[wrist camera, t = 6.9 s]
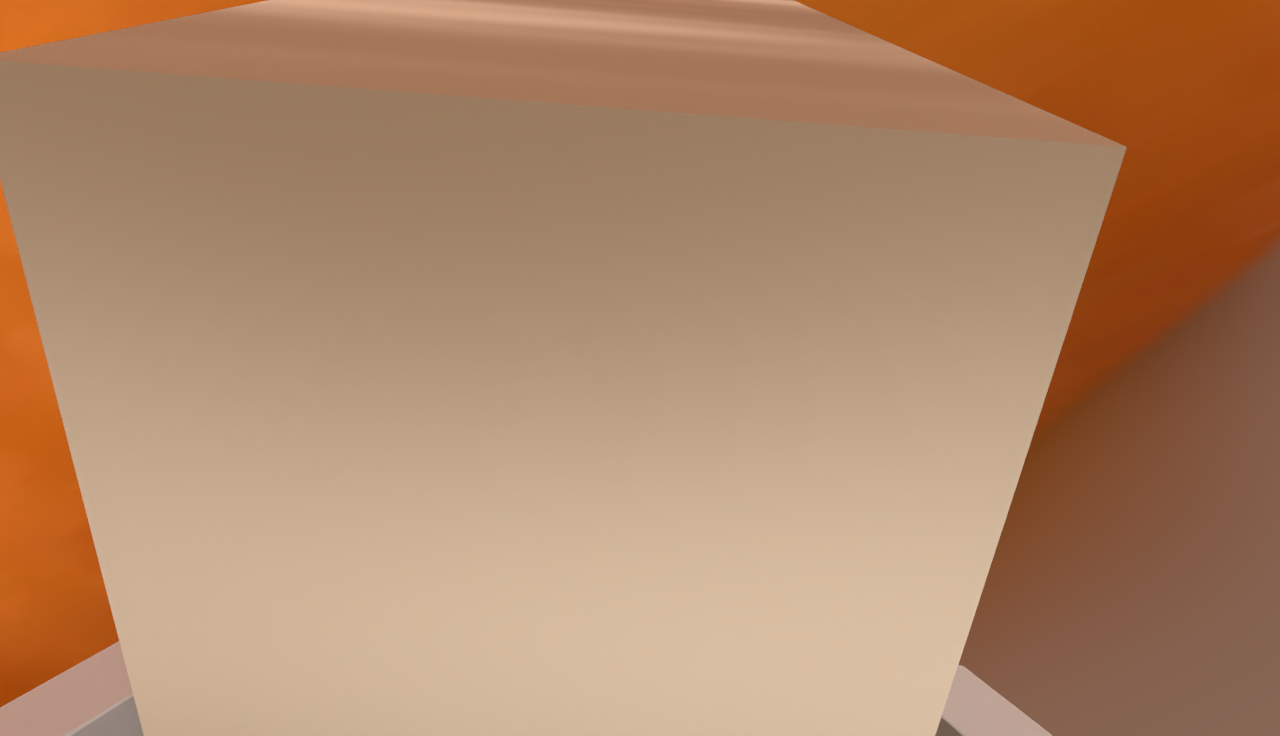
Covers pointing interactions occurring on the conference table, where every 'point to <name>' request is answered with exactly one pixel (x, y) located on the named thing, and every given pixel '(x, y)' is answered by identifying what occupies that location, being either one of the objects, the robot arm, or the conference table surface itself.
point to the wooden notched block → (541, 358)
